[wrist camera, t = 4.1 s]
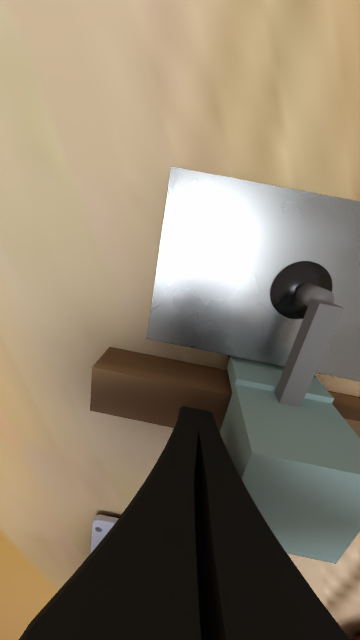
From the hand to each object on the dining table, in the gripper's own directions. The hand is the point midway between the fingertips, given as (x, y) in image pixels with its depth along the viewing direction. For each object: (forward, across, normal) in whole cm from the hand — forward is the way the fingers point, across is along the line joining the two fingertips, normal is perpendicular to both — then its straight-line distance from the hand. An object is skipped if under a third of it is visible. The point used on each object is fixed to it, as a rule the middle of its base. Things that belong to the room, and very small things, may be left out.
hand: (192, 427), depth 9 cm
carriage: (+3, -3, -2) cm, 5 cm away
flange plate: (+3, -8, -6) cm, 11 cm away
